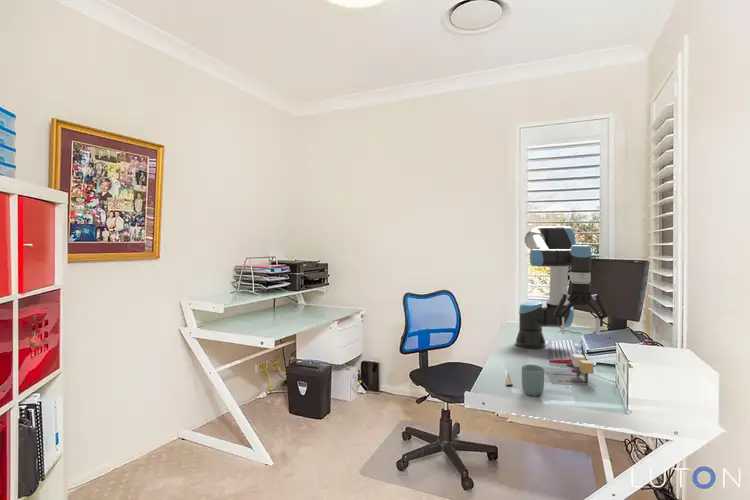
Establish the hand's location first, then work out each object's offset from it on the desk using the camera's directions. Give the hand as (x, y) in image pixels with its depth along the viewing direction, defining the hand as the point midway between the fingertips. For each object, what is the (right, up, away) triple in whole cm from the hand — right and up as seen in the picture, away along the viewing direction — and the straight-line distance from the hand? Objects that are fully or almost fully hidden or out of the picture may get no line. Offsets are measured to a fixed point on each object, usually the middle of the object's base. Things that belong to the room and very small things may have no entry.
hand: (579, 333), depth 167 cm
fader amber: (-1, -18, -6) cm, 19 cm away
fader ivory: (0, -18, +2) cm, 18 cm away
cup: (-25, -20, -15) cm, 35 cm away
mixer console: (-5, -19, -1) cm, 20 cm away
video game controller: (+3, -19, +10) cm, 22 cm away
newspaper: (-25, -20, +4) cm, 32 cm away
